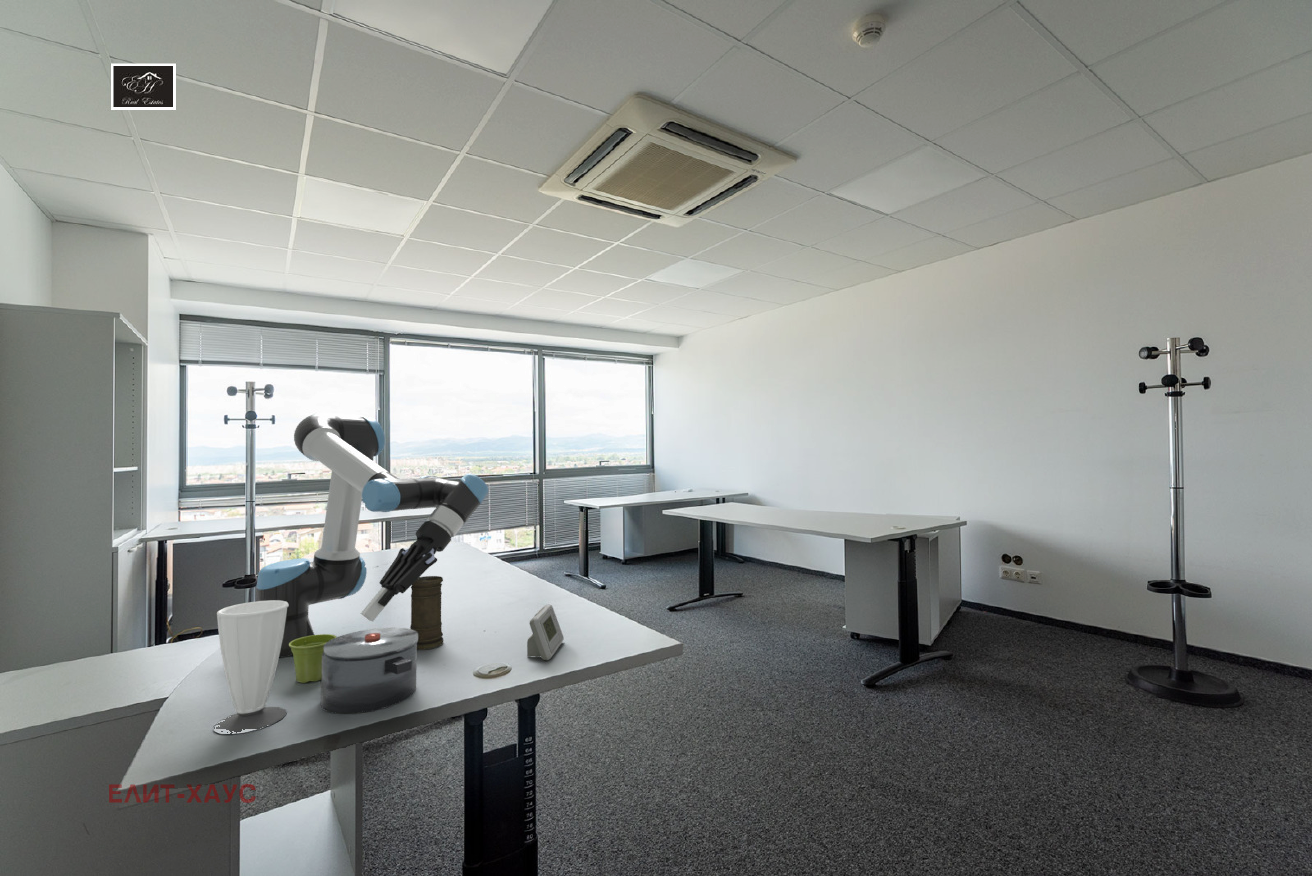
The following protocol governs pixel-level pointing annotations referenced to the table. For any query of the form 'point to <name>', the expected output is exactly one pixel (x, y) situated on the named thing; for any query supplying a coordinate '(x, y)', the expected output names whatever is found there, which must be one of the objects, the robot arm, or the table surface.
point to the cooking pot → (368, 682)
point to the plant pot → (309, 656)
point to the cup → (251, 660)
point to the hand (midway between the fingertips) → (366, 617)
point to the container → (427, 611)
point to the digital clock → (544, 634)
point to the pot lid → (370, 643)
